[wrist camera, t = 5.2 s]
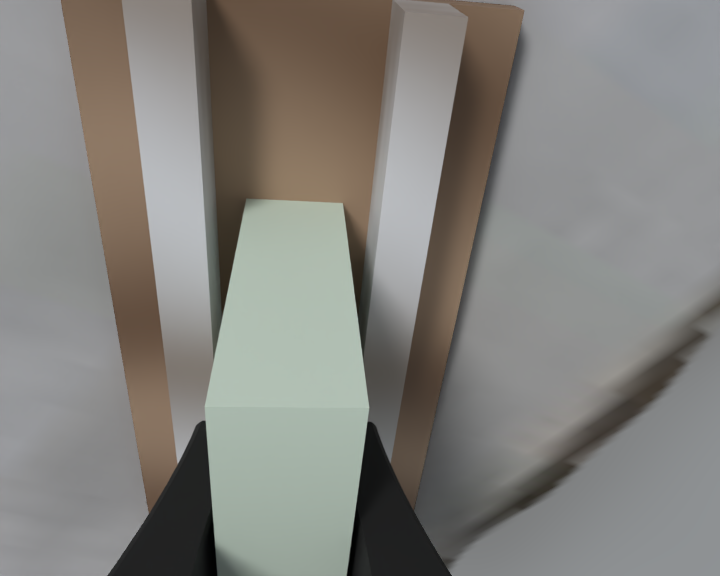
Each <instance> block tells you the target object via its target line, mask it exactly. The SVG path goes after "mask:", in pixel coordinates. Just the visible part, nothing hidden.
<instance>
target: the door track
mask: <svg viewBox="0 0 720 576" xmlns="http://www.w3.org/2000/svg"><path fill="white" fill-rule="evenodd" d="M61 4H62V10H63V16H64V22H65V28H66V33H67V39H68V45H69V51H70V57H71V62H72V68H73V74H74V80H75V86H76V92H77V97H78V103H79V109H80V115H81V121H82V127H83V132H84V138H85V144H86V150H87V156H88V161H89V167H90V173H91V179H92V185H93V191H94V196H95V202H96V208H97V214H98V220H99V226H100V231H101V237H102V243H103V249H104V255H105V261H106V266H107V272H108V278H109V284H110V290H111V295H112V301H113V307H114V313H115V319H116V325H117V330H118V336H119V342H120V348H121V354H122V360H123V365H124V371H125V377H126V383H127V389H128V394H129V400H130V406H131V412H132V418H133V424H134V429H135V435H136V441H137V447H138V453H139V459H140V464H141V470H142V476H143V482H144V488H145V494H146V499H147V505H148V511H149V513H150V511H151V510H152V508H153V506H154V505H155V503H156V501H157V500H158V498H159V496H160V495H161V493H162V491H163V490H164V488H165V486H166V485H167V483H168V481H169V479H170V477H171V476H172V474H173V472H174V470H175V468H176V466H177V465H178V463H179V461H180V459H181V457H182V455H183V453H184V451H185V449H186V447H187V445H188V443H189V440H190V438H191V436H192V434H193V431H194V429H195V426H196V425H197V424H198V423H199V422H201V421H206V418H205V402H206V397H207V392H208V387H209V382H210V377H211V372H212V367H213V362H214V357H215V352H216V347H217V342H218V337H219V332H220V327H221V323H222V318H223V313H224V308H225V303H226V298H227V293H228V288H229V283H230V278H231V273H232V268H233V263H234V258H235V253H236V248H237V243H238V238H239V233H240V228H241V223H242V218H243V213H244V208H245V203H246V198H247V199H268V200H288V201H309V202H330V203H343V208H344V216H345V224H346V231H347V239H348V247H349V255H350V262H351V270H352V278H353V286H354V294H355V301H356V309H357V317H358V325H359V332H360V340H361V348H362V356H363V363H364V371H365V379H366V387H367V395H368V402H369V414H368V421H367V422H372V423H374V424H375V425H376V427H377V430H378V433H379V436H380V439H381V441H382V444H383V447H384V449H385V452H386V454H387V456H388V459H389V461H390V463H391V466H392V468H393V470H394V472H395V474H396V477H397V479H398V481H399V483H400V485H401V487H402V489H403V491H404V493H405V495H406V497H407V499H408V501H409V503H410V505H411V507H412V508H413V510H414V508H415V503H416V498H417V494H418V489H419V485H420V480H421V476H422V471H423V467H424V462H425V458H426V453H427V449H428V444H429V440H430V435H431V431H432V426H433V422H434V417H435V413H436V408H437V404H438V399H439V394H440V390H441V385H442V381H443V376H444V372H445V367H446V363H447V358H448V354H449V349H450V345H451V340H452V336H453V331H454V327H455V322H456V318H457V313H458V309H459V304H460V300H461V295H462V290H463V286H464V281H465V277H466V272H467V268H468V263H469V259H470V254H471V250H472V245H473V241H474V236H475V232H476V227H477V223H478V218H479V214H480V209H481V205H482V200H483V196H484V191H485V186H486V182H487V177H488V173H489V168H490V164H491V159H492V155H493V150H494V146H495V141H496V137H497V132H498V128H499V123H500V119H501V114H502V110H503V105H504V101H505V96H506V92H507V87H508V82H509V78H510V73H511V69H512V64H513V60H514V55H515V51H516V46H517V42H518V37H519V33H520V28H521V24H522V19H523V15H524V10H522V9H520V8H518V7H516V6H511V5H500V4H489V3H478V2H467V1H456V0H61Z"/></svg>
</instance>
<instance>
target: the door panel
mask: <svg viewBox="0 0 720 576" xmlns="http://www.w3.org/2000/svg"><path fill="white" fill-rule="evenodd" d="M368 414H369V402H368V395H367V387H366V379H365V371H364V363H363V356H362V348H361V340H360V332H359V325H358V317H357V309H356V301H355V294H354V286H353V278H352V270H351V262H350V255H349V247H348V239H347V231H346V224H345V216H344V208H343V203H330V202H309V201H288V200H268V199H247V198H246V203H245V208H244V213H243V218H242V223H241V228H240V233H239V238H238V243H237V248H236V253H235V258H234V263H233V268H232V273H231V278H230V283H229V288H228V293H227V298H226V303H225V308H224V313H223V318H222V323H221V327H220V332H219V337H218V342H217V347H216V352H215V357H214V362H213V367H212V372H211V377H210V382H209V387H208V392H207V397H206V402H205V418H206V431H207V445H208V458H209V471H210V484H211V497H212V510H213V523H214V537H215V550H216V563H217V576H347V569H348V562H349V554H350V547H351V539H352V532H353V525H354V517H355V510H356V502H357V495H358V488H359V480H360V473H361V465H362V458H363V451H364V443H365V436H366V428H367V421H368Z"/></svg>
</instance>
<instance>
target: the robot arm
mask: <svg viewBox="0 0 720 576" xmlns="http://www.w3.org/2000/svg"><path fill="white" fill-rule="evenodd" d="M108 576H217V563H216V550H215V537H214V523H213V510H212V497H211V484H210V471H209V458H208V445H207V431H206V421H201V422H199V423H198V424H197V425H196V426H195V429H194V431H193V434H192V436H191V438H190V440H189V443H188V445H187V447H186V449H185V451H184V453H183V455H182V457H181V459H180V461H179V463H178V465H177V466H176V468H175V470H174V472H173V474H172V476H171V477H170V479H169V481H168V483H167V485H166V486H165V488H164V490H163V491H162V493H161V495H160V496H159V498H158V500H157V501H156V503H155V505H154V506H153V508H152V510H151V511H150V513H149V515H148V516H147V518H146V520H145V521H144V523H143V524H142V526H141V527H140V529H139V530H138V532H137V533H136V535H135V536H134V538H133V539H132V541H131V542H130V544H129V545H128V547H127V548H126V550H125V551H124V553H123V554H122V556H121V557H120V559H119V560H118V561H117V563H116V564H115V566H114V567H113V569H112V570H111V571H110V573H109V574H108ZM347 576H452V575H451V574H450V572H449V571H448V569H447V568H446V566H445V564H444V563H443V561H442V559H441V558H440V556H439V554H438V553H437V551H436V549H435V548H434V546H433V544H432V543H431V541H430V539H429V538H428V536H427V534H426V532H425V531H424V529H423V527H422V525H421V524H420V522H419V520H418V518H417V516H416V514H415V512H414V510H413V508H412V507H411V505H410V503H409V501H408V499H407V497H406V495H405V493H404V491H403V489H402V487H401V485H400V483H399V481H398V479H397V477H396V474H395V472H394V470H393V468H392V466H391V463H390V461H389V459H388V456H387V454H386V452H385V449H384V447H383V444H382V441H381V439H380V436H379V433H378V430H377V427H376V425H375V424H374V423H372V422H367V428H366V436H365V443H364V451H363V458H362V465H361V473H360V480H359V488H358V495H357V502H356V510H355V517H354V525H353V532H352V539H351V547H350V554H349V562H348V569H347Z"/></svg>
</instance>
